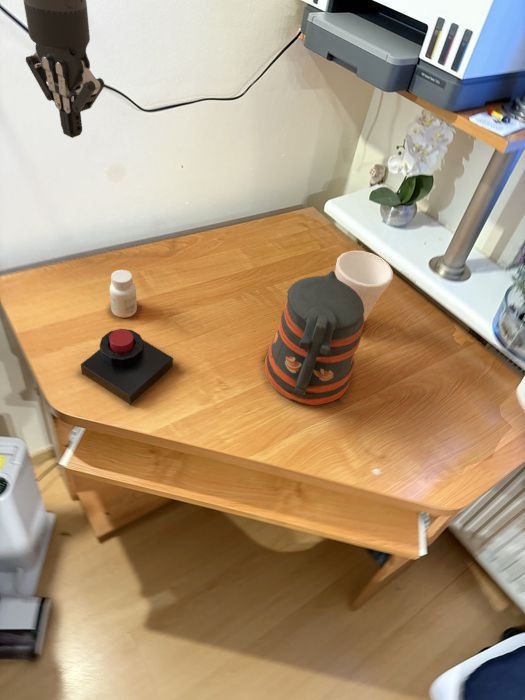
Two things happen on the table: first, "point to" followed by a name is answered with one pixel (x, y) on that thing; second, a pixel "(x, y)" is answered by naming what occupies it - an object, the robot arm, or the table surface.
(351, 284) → the cup
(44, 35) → the robot arm
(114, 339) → the lid button
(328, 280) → the beer stein
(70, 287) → the table surface
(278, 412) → the table surface
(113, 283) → the pill bottle
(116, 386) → the push button housing
